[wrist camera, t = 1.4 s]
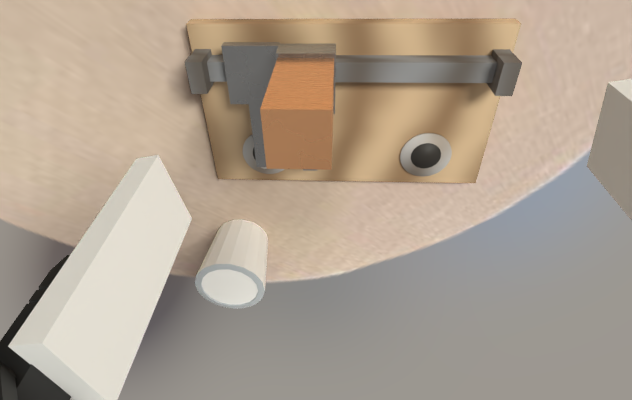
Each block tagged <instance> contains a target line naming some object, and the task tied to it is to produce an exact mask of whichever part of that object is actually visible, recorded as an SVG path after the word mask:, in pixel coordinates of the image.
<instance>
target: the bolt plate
mask: <svg viewBox="0 0 632 400" xmlns="http://www.w3.org/2000/svg"><path fill="white" fill-rule="evenodd" d="M186 26H187V30H188V35H189V40H190V45H191V50H192V54H191V55H190V56H189V57H188V58H187V60H186V61H185V66H186V71H187V75H188V80H189V84H190V89H191V93H192V94H201V99H202V103H203V108H204V113H205V118H206V123H207V128H208V133H209V138H210V142H211V147H212V152H213V157H214V162H215V167H216V172H217V177H218V179H257V180H318V181H379V182H440V183H476V179H477V176H478V172H479V169H480V165H481V162H482V158H483V155H484V151H485V148H486V144H487V141H488V137H489V134H490V130H491V127H492V123H493V120H494V116H495V113H496V109H497V106H498V102H499V99H500V96H512V95H513V91H514V88H515V85H516V82H517V78H518V75H519V72H520V69H521V65H522V62H521V61H520V60H519V59H518V58H517V57H516V56H515V55H514V54H513V50H514V47H515V43H516V40H517V36H518V33H519V29H520V26H521V23H520V22H519V21H518V20H516V19H191V20H190V21H189V22H188V23H187V24H186ZM224 42H280V44H336V82H335V114H333V142H332V170H319V169H317V171H303V169H263V168H261V167H257V165H256V158H255V150H254V142H253V134H252V126H251V119H250V111H249V104H230V98H229V91H228V85H227V79H226V73H225V66H224V60H223V54H222V47H221V45H222V44H223V43H224Z"/></svg>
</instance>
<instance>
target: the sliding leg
mask: <svg viewBox="0 0 632 400" xmlns="http://www.w3.org/2000/svg"><path fill="white" fill-rule="evenodd" d="M335 82H336V44H279V45H278V48H277V51H276V64H275V67H274V69H273V72H272V75H271V78H270V81H269V84H268V87H267V90H266V93H265V96H264V99H263V102H262V105H261V108H260V113H261V122H262V131H263V140H264V149H265V158H266V167H267V169H303V171H317V169H319V170H332V142H333V114H335Z"/></svg>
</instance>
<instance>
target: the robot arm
mask: <svg viewBox="0 0 632 400" xmlns="http://www.w3.org/2000/svg"><path fill="white" fill-rule="evenodd" d="M587 167H588V168H589V169H590V171H591V172H592V173H593V174H594V176H595V177H596V178H597V179H598V180H599V182H601V184H602V185H603V186H604V188H605V189H606V190H607V191H608V192H609V194H610V195H611V196H612V197H613V198H614V200H615V201H616V202H617V203H618V205H619V206H620V207H621V208H622V209H623V210H624V212H625V213H626V214H627V215H628V217H629V218H630V219H631V220H632V79H626V80H620V81H614V82H608V85H607V89H606V93H605V97H604V101H603V104H602V108H601V112H600V116H599V120H598V124H597V128H596V132H595V136H594V140H593V144H592V148H591V152H590V156H589V160H588V164H587ZM191 219H192V218H191V216H190V214H189V212H188V210H187V208H186V206H185V204H184V202H183V201H182V199H181V197H180V195H179V193H178V191H177V189H176V187H175V185H174V184H173V182H172V180H171V178H170V176H169V174H168V172H167V170H166V168H165V167H164V165H163V163H162V161H161V159H160V157H159V155H155V156H149V157H142V158H136V160H135V161H134V163H133V164H132V166H131V167H130V169H129V170H128V172H127V173H126V175H125V176H124V177H123V179H122V180H121V182H120V183H119V185H118V186H117V188H116V189H115V191H114V192H113V194H112V195H111V196H110V198H109V199H108V201H107V202H106V204H105V205H104V207H103V208H102V210H101V211H100V213H99V214H98V215H97V217H96V218H95V220H94V221H93V223H92V224H91V226H90V227H89V229H88V230H87V232H86V233H85V234H84V236H83V237H82V239H81V240H80V242H79V243H78V245H77V246H76V248H75V249H74V250H73V252H72V253H71V255H67V256H66V257H65V258H64V259H63V260H61V261H60V262H59V263H58V264H57V265H56V266H55V267H54V268H53V269H52V270H50V272H49V273H48V275H47V276H46V277H45V279H44V280H43V282H42V283H41V285H40V286H39V290H36V292H35V293H34V294H33V296H32V297H31V299H30V300H29V302H30V303H29V304H26V306H25V307H24V309H23V310H22V311H21V313H20V314H19V316H18V317H17V318H16V320H15V321H14V323H13V324H12V326H11V327H10V329H9V330H8V331H7V333H6V334H5V336H4V337H3V338H2V340H1V341H0V400H70V398H72V399H73V400H117V399H118V397H119V394H120V392H121V389H122V387H123V385H124V382H125V379H126V377H127V375H128V372H129V370H130V367H131V365H132V363H133V360H134V358H135V355H136V353H137V351H138V348H139V345H140V343H141V341H142V338H143V336H144V334H145V331H146V329H147V326H148V324H149V321H150V319H151V317H152V314H153V312H154V309H155V307H156V304H157V302H158V300H159V297H160V295H161V292H162V290H163V287H164V285H165V283H166V280H167V278H168V275H169V273H170V270H171V268H172V266H173V263H174V261H175V258H176V256H177V253H178V251H179V249H180V246H181V244H182V241H183V239H184V236H185V234H186V232H187V229H188V227H189V224H190V222H191Z"/></svg>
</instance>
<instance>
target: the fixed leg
mask: <svg viewBox="0 0 632 400" xmlns="http://www.w3.org/2000/svg"><path fill="white" fill-rule="evenodd" d="M279 44H280V42H224V43H223V44H222V45H221V47H222V54H223V60H224V66H225V73H226V79H227V85H228V91H229V98H230V104H249V111H250V119H251V126H252V134H253V142H254V150H255V158H256V165H257V167H261V168H263V169H267V167H266V158H265V149H264V140H263V131H262V122H261V113H260V108H261V105H262V102H263V99H264V96H265V93H266V90H267V87H268V84H269V81H270V78H271V75H272V72H273V69H274V67H275V64H276V51H277V48H278V45H279Z"/></svg>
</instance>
